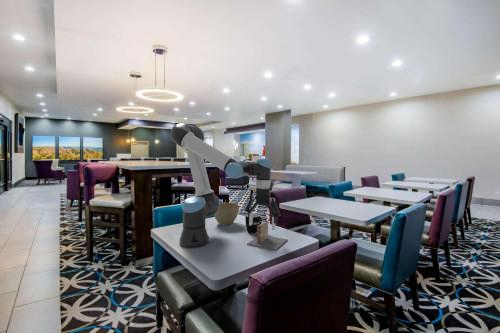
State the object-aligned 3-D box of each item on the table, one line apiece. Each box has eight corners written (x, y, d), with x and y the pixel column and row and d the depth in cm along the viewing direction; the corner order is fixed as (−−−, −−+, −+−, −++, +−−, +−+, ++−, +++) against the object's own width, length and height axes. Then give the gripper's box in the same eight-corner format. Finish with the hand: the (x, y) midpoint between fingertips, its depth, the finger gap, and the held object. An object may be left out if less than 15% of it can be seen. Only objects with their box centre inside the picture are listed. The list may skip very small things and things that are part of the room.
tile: (257, 242, 129) (257, 225, 128) (264, 237, 136) (264, 221, 136) (260, 243, 128) (260, 226, 127) (268, 238, 135) (268, 222, 135)
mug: (252, 235, 142) (252, 218, 141) (242, 231, 148) (242, 215, 148) (266, 230, 150) (266, 214, 150) (256, 227, 157) (256, 211, 156)
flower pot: (206, 223, 165) (206, 205, 164) (228, 218, 177) (228, 201, 177) (222, 229, 152) (222, 210, 151) (244, 224, 164) (244, 206, 163)
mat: (247, 244, 128) (247, 243, 128) (261, 235, 142) (261, 234, 142) (275, 250, 120) (275, 249, 120) (287, 240, 134) (287, 239, 134)
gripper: (239, 186, 133) (238, 224, 135) (282, 191, 121) (281, 233, 122) (246, 184, 140) (245, 221, 141) (287, 189, 128) (286, 229, 129)
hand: (261, 227), depth 132 cm, fingers open, 13 cm apart
